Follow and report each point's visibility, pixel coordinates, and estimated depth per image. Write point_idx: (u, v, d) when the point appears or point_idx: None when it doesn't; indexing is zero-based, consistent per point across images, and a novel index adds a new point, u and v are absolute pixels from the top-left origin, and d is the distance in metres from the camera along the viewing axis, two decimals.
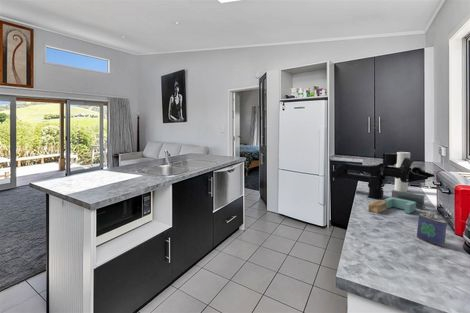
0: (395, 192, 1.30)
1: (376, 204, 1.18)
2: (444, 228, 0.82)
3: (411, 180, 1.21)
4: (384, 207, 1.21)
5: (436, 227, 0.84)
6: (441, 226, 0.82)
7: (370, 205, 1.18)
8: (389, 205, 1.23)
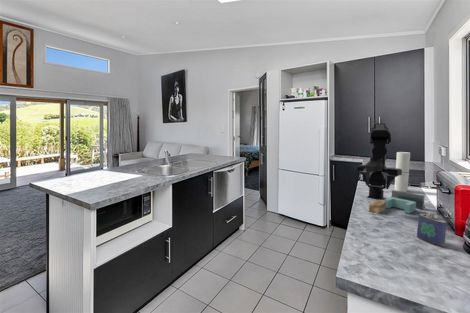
0: (395, 192, 1.30)
1: (377, 204, 1.18)
2: (444, 228, 0.82)
3: None
4: (384, 207, 1.21)
5: (436, 227, 0.84)
6: (441, 226, 0.82)
7: (371, 205, 1.18)
8: (389, 205, 1.23)
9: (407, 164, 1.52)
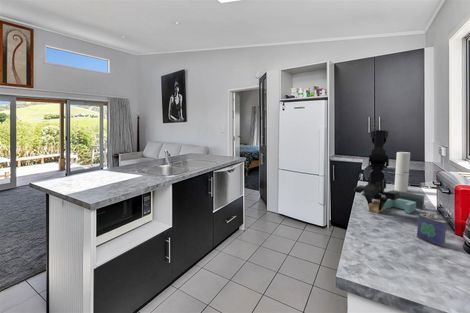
0: None
1: (376, 204, 1.18)
2: (444, 228, 0.82)
3: None
4: (383, 206, 1.21)
5: (436, 227, 0.84)
6: (441, 226, 0.82)
7: (370, 205, 1.18)
8: (389, 205, 1.23)
9: (407, 164, 1.52)
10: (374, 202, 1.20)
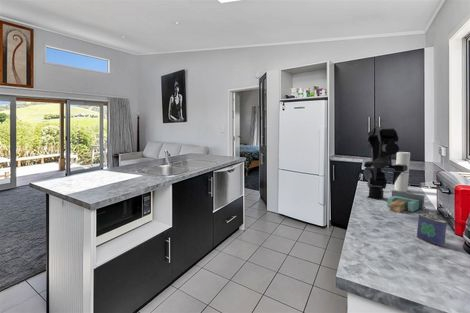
0: (395, 192, 1.30)
1: (398, 203, 1.19)
2: (444, 228, 0.82)
3: None
4: (404, 206, 1.22)
5: (436, 227, 0.84)
6: (441, 226, 0.82)
7: (392, 204, 1.19)
8: None
9: (407, 164, 1.52)
10: (395, 202, 1.21)
